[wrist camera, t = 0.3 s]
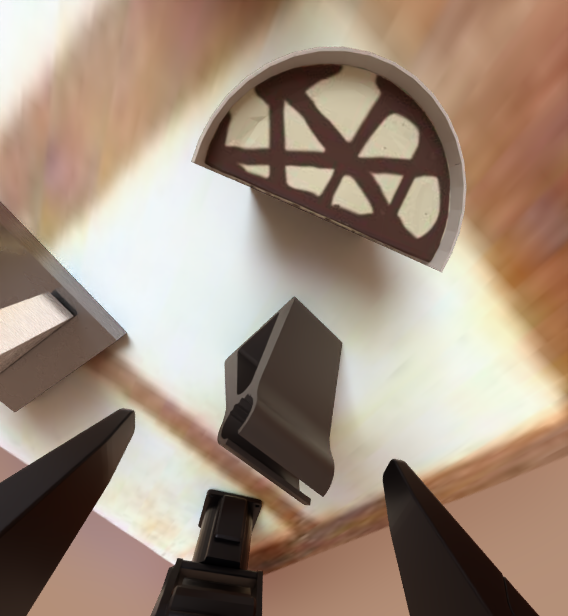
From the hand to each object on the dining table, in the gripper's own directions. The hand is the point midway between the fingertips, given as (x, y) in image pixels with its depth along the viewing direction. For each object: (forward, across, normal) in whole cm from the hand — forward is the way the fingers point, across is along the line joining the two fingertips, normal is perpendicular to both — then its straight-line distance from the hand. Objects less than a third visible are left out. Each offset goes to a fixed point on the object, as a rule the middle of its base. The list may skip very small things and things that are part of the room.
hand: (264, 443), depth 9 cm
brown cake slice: (+15, -1, -10) cm, 18 cm away
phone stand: (+15, -1, +5) cm, 16 cm away
